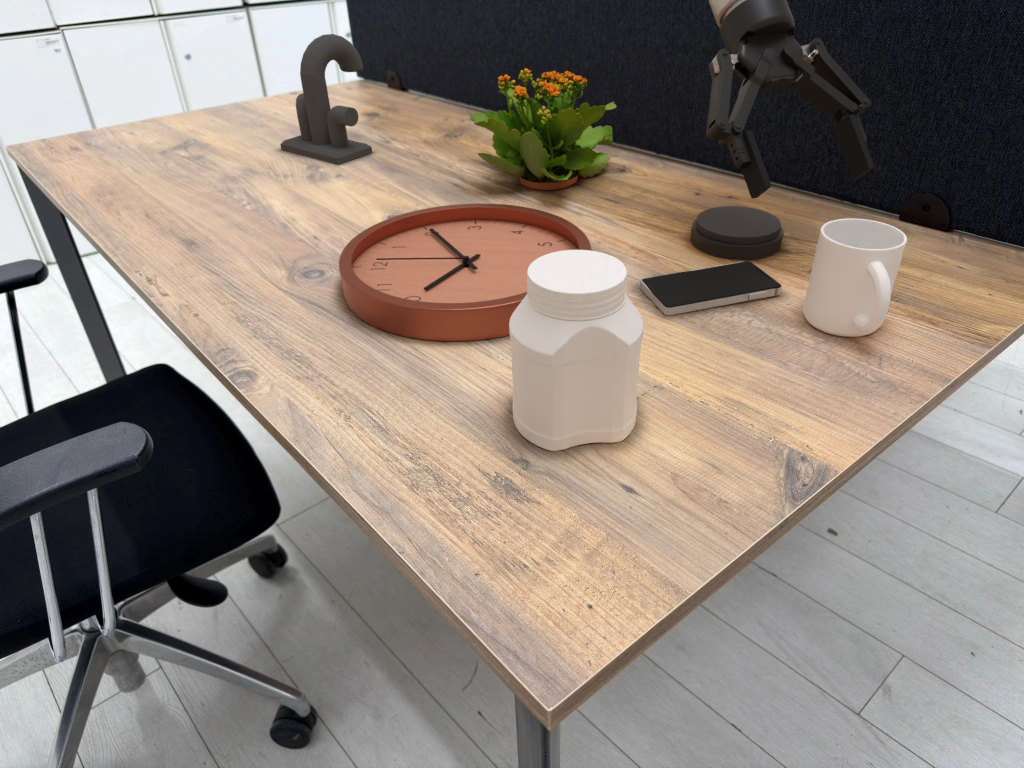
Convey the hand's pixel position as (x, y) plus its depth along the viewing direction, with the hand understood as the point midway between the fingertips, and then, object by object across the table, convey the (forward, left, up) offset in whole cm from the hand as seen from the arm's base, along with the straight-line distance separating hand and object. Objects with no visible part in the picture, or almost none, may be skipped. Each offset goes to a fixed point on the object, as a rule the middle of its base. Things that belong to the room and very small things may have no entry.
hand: (813, 183), depth 79 cm
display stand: (+5, -15, -13) cm, 21 cm away
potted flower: (+33, -38, -14) cm, 52 cm away
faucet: (+75, -58, -14) cm, 95 cm away
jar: (+25, +26, -14) cm, 38 cm away
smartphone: (+10, 0, -14) cm, 17 cm away
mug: (-4, +8, -14) cm, 16 cm away
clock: (+40, -2, -14) cm, 42 cm away
